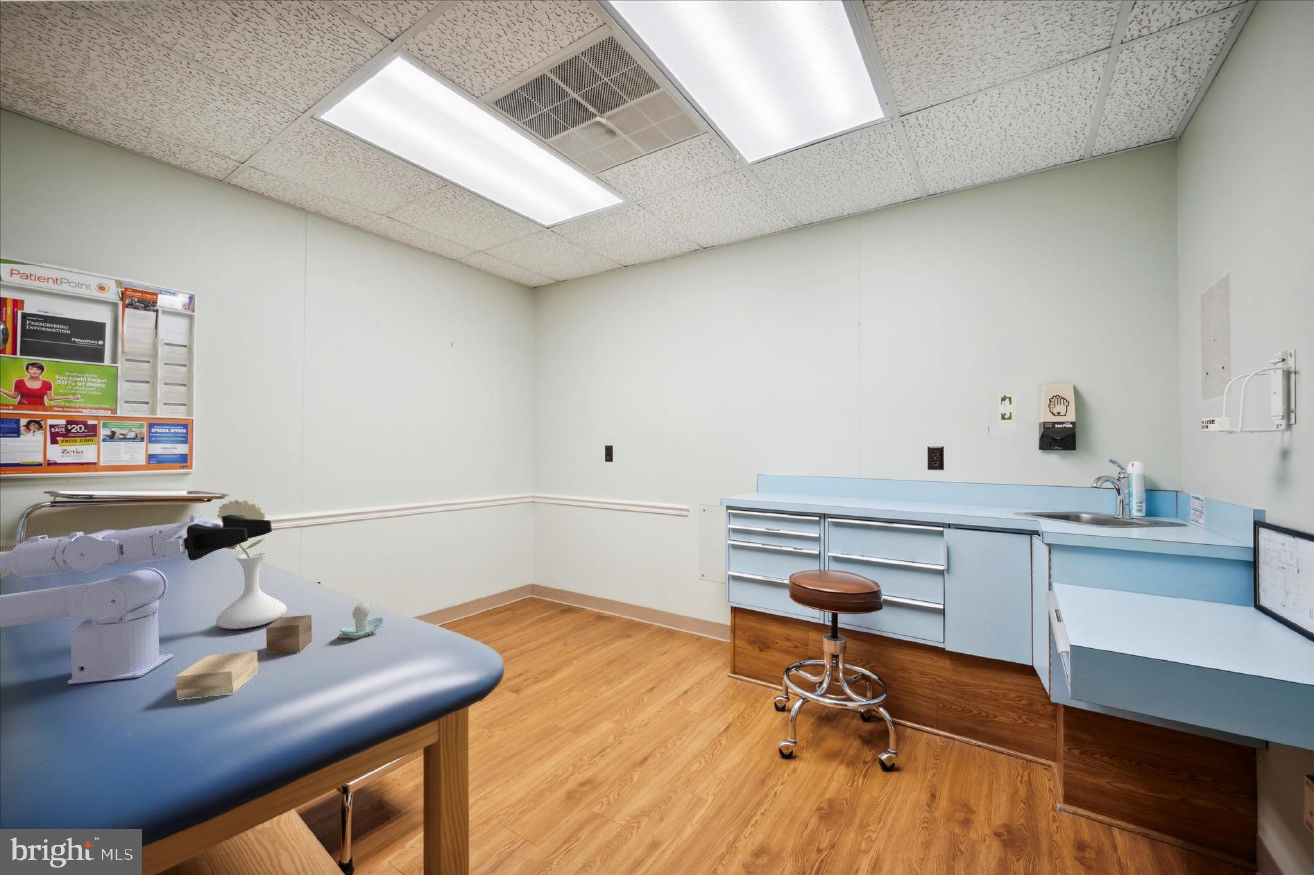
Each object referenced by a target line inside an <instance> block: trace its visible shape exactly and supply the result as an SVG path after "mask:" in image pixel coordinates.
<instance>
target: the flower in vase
mask: <svg viewBox="0 0 1314 875" xmlns="http://www.w3.org/2000/svg"><path fill="white" fill-rule="evenodd" d="M217 512H218V514H217V515H216V516H217V518H218V519H220V520H221V521H220V522H222V516H225V515H235V516H238V517H241V518H246V519H258V520H266V516H265V512H263V511H262V508H261V507H260V506H257V504H255V503H249V501H248V500H242V501H240V500H239V499H234V501H233V500H229V501H228V502H226V503H222V505H220V506H219V507H218V511H217ZM265 538H266V536H264V537H263V538H261V539H259V540H256V541H254V542H252V543H251V544H250V545H248V546H247V547H246V548H244V546H243V545H242V543H240V544H237V545H235V546H232V547H229V548H228V547H226V548H225V549H228V550H235V549H236V548H237V547H238V546H239V548H240V549H241V550H242V551H243V553H244V554H239V555H236V556H235V557H234V558H235V559H236V561H237V562H238V563H239V564H240V566H241V567H242V572H243V576H244V590H243V592H242V594H241V595H240V596H239V597H238V598H237V599H236V600H235V601H234V602H232V603H231V604H230V605H229V606H227V607H226V608H225V609H223V611H222V612H221V613H220V614H219V615H218V616H217V618H216V621H215V624H216V625H217V626H218V627H219V628H222V629H227V630H228V629H231V630H239V629H240V630H241V629H247V628H253V627H254V628H255V627H259V626H263V625H266V624H269V623H271V622H272V623H273V622H275V621H276V620H277V619H279V618H280V617H284V615H285V614H286V613H287V611H288V607H287V606H286V604H285V603H283V602H282V601H280V600H278V599H277V598H275V597H272V596H270V595H268V594H266V593H265V592H264V591H263V590H261V588H260V581H259V580H260V579H259V578H260V569H261V564H262V562H263V560H264V558H265V557H266V556H267V553H266V552H251V553H249V552H248V551H247V550H249V549H251V548H253V547H255V546H257V545H259V544H260V543H261V542H262V541H263V540H265Z"/></svg>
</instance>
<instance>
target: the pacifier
mask: <svg viewBox="0 0 1314 875" xmlns="http://www.w3.org/2000/svg"><path fill="white" fill-rule="evenodd" d="M370 612H371V607H370V605H369V603H365V602H363V603H360V604H358V605H357V606H355V607H354V609H353V610H352V616H351V617H352V618H353V620H354V621H355V622H354V623H355V625H353V626H348V627H341V628H339V632H340V633H339V634H338V638H341V639H349V638H350V639H351V638H356V639H360V638H359V637H361V638H363V637H362V636H365V635H367V636H369V635H368V634H370V633H371V632H372V633H373V632H375V631H376V630H378V629H379V628H381V626H383V623H384V622H383V621H384V619H383V618H382V617H376V618H372V619H370V620H368V618H369V617H368V616H369V614H370ZM372 633H371V634H372ZM371 634H370V635H371ZM365 637H366V636H365Z"/></svg>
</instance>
